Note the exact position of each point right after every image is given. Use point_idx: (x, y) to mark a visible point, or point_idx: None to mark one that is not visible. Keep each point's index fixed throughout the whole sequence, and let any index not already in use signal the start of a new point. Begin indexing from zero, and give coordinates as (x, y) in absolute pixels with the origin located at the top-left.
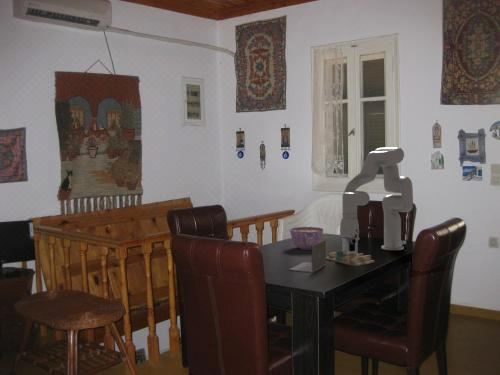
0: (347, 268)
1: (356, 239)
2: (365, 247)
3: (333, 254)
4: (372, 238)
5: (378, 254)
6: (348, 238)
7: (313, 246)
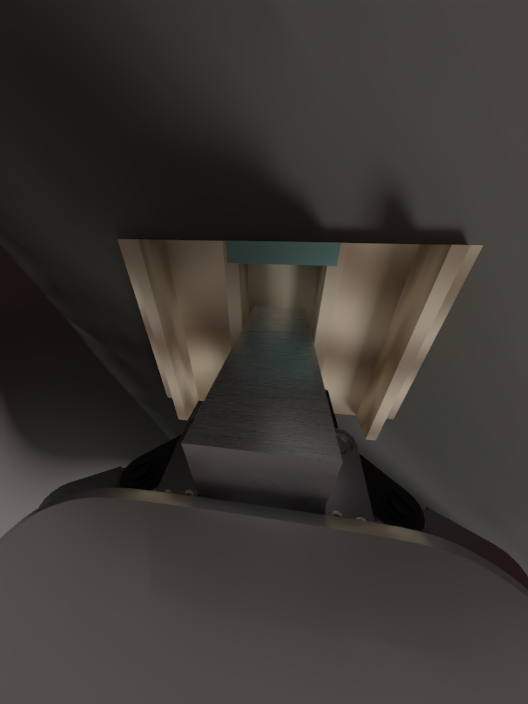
0: (71, 119)
1: (84, 490)
2: None
3: (416, 299)
4: None
5: None
6: (197, 483)
7: None
